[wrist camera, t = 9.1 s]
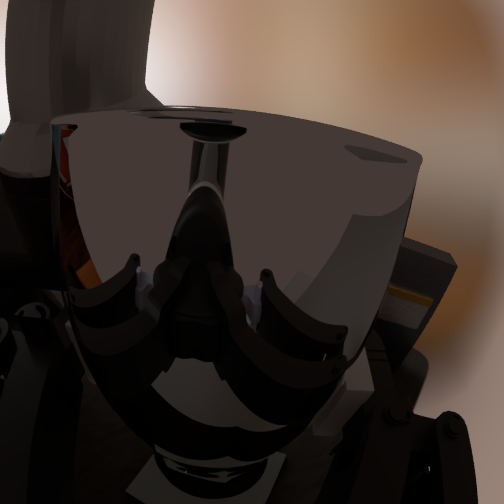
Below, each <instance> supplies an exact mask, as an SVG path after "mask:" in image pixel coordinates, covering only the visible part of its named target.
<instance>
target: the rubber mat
mask: <svg viewBox="0 0 504 504" xmlns="http://www.w3.org/2000/svg"><path fill="white" fill-rule="evenodd" d="M285 457H286V454H283V453H280V452H276V453H274V454H272V455H271V456H269V458H268V464H267V467H266V469H265V472H264V474H263V475H262V477H261V478H260V480H259V481H258V482H257V483H256V484H255V485H254V486H253V487H252V488H250V489H249V490H248V491H246V492H244V493H242V494H240V495H238V496H235V497H232V498H227V499H218V500H210V499H201V498H197V497H193V496H190V495H188V494H186V493H184V492H182V491H180V490H178V489H177V488H175V487H174V486H173V485H172V484H170V483H169V482H168V481H167V480H166V479H165V477H164V476H163V475H162V473H161V472H160V470H159V468H158V466H157V464H156V461H155V458H154V454H153V455H152V457H151V458H150V459H149V461H148V462H147V463H146V464H145V466H144V467H143V468H142V470H141V471H140V472H139V474H138V475H137V476H136V478H135V479H134V480H133V481H132V483H131V484H130V485H129V487H128V488H127V489H126V490H125V491H126V492H128V493H129V494H131V495H132V496H134V497H135V498H137V499H138V500H140V501H142V502H143V503H145V504H265V503H266V500H267V498H268V496H269V494H270V492H271V490H272V487H273V485H274V483H275V481H276V478H277V476H278V474H279V471H280V469H281V467H282V464H283V462H284V459H285Z"/></svg>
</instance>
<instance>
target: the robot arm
mask: <svg viewBox="0 0 504 504" xmlns="http://www.w3.org/2000/svg"><path fill="white" fill-rule="evenodd" d="M154 2H155V0H9V3H8V10H7V21H6V38H5V66H6V83H7V94H8V103H9V111H10V117H11V120H10V124H9V126H8V128H7V130H6V132H5V133H2V134H0V504H74V502H73V480H74V457H75V444H76V434H77V425H78V417H79V410H80V403H81V397H82V391H83V384H82V382H81V380H80V379H81V378H82V376H83V375H84V373H86V375H87V377H88V379H89V381H90V382H91V383H93V384H96V382H95V380H94V379H93V377H92V375H91V373H90V371H89V369H88V367H87V365H86V363H85V361H84V359H83V357H82V355H81V353H80V350H79V348H78V345H77V342H76V339H75V337H74V334H73V331H72V328H71V325H70V322H69V318H68V315H67V312H66V309H65V307H64V308H63V306H62V305H61V303H60V302H59V301H58V299H57V298H56V297H55V295H54V294H53V293H52V291H51V290H57V291H61V289H60V284H59V279H58V273H57V267H56V261H55V255H54V248H53V240H52V229H51V214H50V126H49V122H50V120H51V118H52V117H54V116H56V115H60V114H65V113H71V112H77V111H85V110H93V109H102V108H114V107H129V106H164V105H163V104H162V103H161V102H160V101H159V100H158V99H157V98H155V97H154V96H153V95H152V94H151V93H150V92H149V91H148V90H147V89H146V85H145V74H146V61H147V52H148V43H149V35H150V27H151V20H152V14H153V7H154ZM96 385H97V384H96ZM341 429H342V430H343V440H342V441H341V442H340V443H338V444H337V445H336V446H335V447H334V448H333V449H332V450H331V452H330V453H329V455H331V456H332V455H333V454H334V453H335V455H334V458H333V461H332V463H331V466H330V469H329V471H328V474H327V476H326V479H325V481H324V484H323V486H322V488H321V491H320V493H319V495H318V498H317V500H316V502H315V504H478V496H477V484H476V475H475V469H474V461H473V455H472V449H471V445H470V439H469V434H468V430H467V426H466V424H465V421H464V420H463V418H462V417H461V416H460V415H459V414H457V413H455V412H451V411H446V412H443V413H442V414H441V415H440V416H439V417H437V418H436V419H432V418H428V417H424V416H420V415H417V414H414V413H413V411H412V409H411V407H410V405H409V404H408V403H407V402H405V401H404V400H402V399H400V398H399V397H398V394H397V390H396V386H395V383H394V379H393V375H392V372H391V368H390V365H389V362H388V358H387V354H386V353H385V348H384V345H383V341H382V339H381V338H380V336H379V335H378V334H377V332H376V331H375V330H374V329H373V330H372V332H371V334H370V336H369V339H368V341H367V343H366V345H365V347H364V349H363V351H362V353H361V355H360V356H359V358H358V360H357V362H356V364H355V366H354V368H353V370H352V371H351V373H350V375H349V376H348V378H347V379H346V381H345V382H344V384H343V385H342V387H341V388H340V389H339V391H338V392H337V394H336V395H335V396H334V398H333V399H332V401H331V402H330V403H329V405H328V406H327V407H326V409H325V410H324V411H323V412H322V414H321V415H320V416H319V417H318V418H317V419H316V420H315V421H314V422H313V435H319V436H336V435H337V434H338V433H339V432H340V431H341ZM429 466H430V471H429V468H428V467H429Z"/></svg>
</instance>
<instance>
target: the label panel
mask: <svg viewBox="0 0 504 504" xmlns="http://www.w3.org/2000/svg"><path fill="white" fill-rule="evenodd" d="M456 269H457V264H456V263H455V261H454V259H453V258H452V256H451V254H450V253H447V252H444V251H442V250H439V249H437V248H434V247H431V246H428V245H426V244H423V243H420V242H417V241H415V240H412V239H409V238H406V237H404V238H403V242H402V246H401V250H400V254H399V257H398V261H397V264H396V268H395V271H394V274H393V277H392V280H391V283H390V286H389V289H388V292H387V295H386V298H385V300H384V303H383V306H382V308H381V311H380V314H379V316H378V319H377V321H376V324H375V326H374V328H373V329H374V330H375V331H376V332H377V334H378V335H379V336H380V338H381V339H382V341H383V345H384V348H385V353H386V354H387V358H388V362H389V365H390V368H391V372H392V375H393V374H394V372H395V371H396V370H397V368H398V367H399V366H400V364H401V363H402V362H403V360H404V359H405V357H406V356H407V354H408V353H409V351H410V350H411V349H412V347H413V346H414V344H415V342H416V341H417V339H418V338H419V336H420V335H421V333H422V332H423V330H424V328H425V327H426V325H427V323H428V322H429V320H430V318H431V317H432V315H433V313H434V311H435V310H436V308H437V306H438V304H439V303H440V301H441V299H442V297H443V295H444V293H445V291H446V289H447V287H448V286H449V284H450V282H451V279H452V278H453V275H454V273H455V271H456Z"/></svg>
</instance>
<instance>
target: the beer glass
mask: <svg viewBox="0 0 504 504" xmlns="http://www.w3.org/2000/svg"><path fill="white" fill-rule="evenodd" d="M49 126H50V214H51V229H52V240H53V248H54V255H55V261H56V267H57V273H58V279H59V284H60V289H61V293H62V298H63V302H64V305H65V309H66V312H67V315H68V318H69V322H70V325H71V328H72V331H73V334H74V337H75V339H76V342H77V345H78V348H79V350H80V353H81V355H82V357H83V359H84V361H85V363H86V365H87V367H88V369H89V371H90V373H91V375H92V377H93V379H94V380H95V382H96V384H97V386H98V388H99V389H100V391H101V393H102V394H103V396H104V398H105V399H106V401H107V402H108V404H109V405H110V406H111V407H112V409H113V410H114V411H115V412H116V413H117V414H118V416H119V417H120V418H121V419H122V420H123V421H124V422H125V424H126V425H127V426H128V427H129V428H130V429H131V430H132V431H133V432H134V433H135V434H136V435H137V436H138V437H139V438H141V439H142V440H143V441H144V442H145V443H147V444H148V445H149V446H150V447H151V448H153V452H154V458H155V461H156V464H157V466H158V468H159V470H160V472H161V473H162V475H163V476H164V477H165V479H166V480H167V481H168V482H169V483H170V484H172V485H173V486H174V487H175V488H177V489H178V490H180V491H182V492H184V493H186V494H188V495H190V496H193V497H197V498H201V499H210V500H218V499H227V498H232V497H235V496H238V495H240V494H242V493H244V492H246V491H248V490H249V489H250V488H252V487H253V486H254V485H255V484H256V483H257V482H258V481H259V480H260V478H261V477H262V475H263V474H264V472H265V469H266V467H267V464H268V458H269V456H271V455H272V454H274V453H276V452H277V451H279V450H280V449H282V448H283V447H285V446H286V445H288V444H289V443H290V442H292V441H293V440H294V439H295V438H296V437H297V436H299V435H300V434H301V433H302V432H303V431H304V430H305V429H306V428H308V427H309V426H310V425H311V424H312V423H313V422H314V421H315V420H316V419H317V418H318V417H319V416H320V415H321V414H322V412H323V411H324V410H325V409H326V407H327V406H328V405H329V403H330V402H331V401H332V399H333V398H334V396H335V395H336V394H337V392H338V391H339V389H340V388H341V387H342V385H343V384H344V382H345V381H346V379H347V378H348V376H349V375H350V373H351V371H352V370H353V368H354V366H355V364H356V362H357V360H358V358H359V356H360V355H361V353H362V351H363V349H364V347H365V345H366V343H367V341H368V339H369V336H370V334H371V332H372V330H373V328H374V326H375V324H376V321H377V319H378V316H379V314H380V311H381V308H382V306H383V303H384V300H385V298H386V295H387V292H388V289H389V286H390V283H391V280H392V277H393V274H394V271H395V268H396V264H397V261H398V257H399V254H400V250H401V246H402V242H403V238H404V234H405V230H406V225H407V221H408V217H409V213H410V208H411V204H412V199H413V194H414V190H415V185H416V180H417V176H418V172H419V169H420V165H421V164H422V159H423V158H422V156H421V155H420V154H419V153H418V152H416V151H413V150H411V149H409V148H406V147H403V146H401V145H398V144H395V143H392V142H389V141H386V140H382V139H380V138H377V137H373V136H370V135H367V134H363V133H360V132H356V131H352V130H349V129H345V128H341V127H337V126H333V125H328V124H324V123H320V122H315V121H310V120H305V119H300V118H294V117H289V116H283V115H277V114H270V113H263V112H256V111H247V110H238V109H228V108H216V107H200V106H199V107H197V106H129V107H114V108H102V109H93V110H85V111H77V112H71V113H65V114H60V115H56V116H54V117H52V118H51V120H50V122H49Z"/></svg>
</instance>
